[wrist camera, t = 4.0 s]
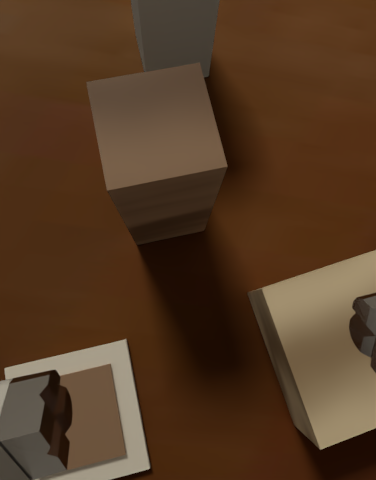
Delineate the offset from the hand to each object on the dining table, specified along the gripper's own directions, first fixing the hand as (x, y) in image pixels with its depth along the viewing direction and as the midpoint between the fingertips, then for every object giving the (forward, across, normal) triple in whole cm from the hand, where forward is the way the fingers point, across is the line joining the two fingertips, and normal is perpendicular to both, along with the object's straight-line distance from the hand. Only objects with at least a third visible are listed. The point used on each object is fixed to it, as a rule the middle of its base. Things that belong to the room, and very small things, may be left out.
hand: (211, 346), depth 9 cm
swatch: (+6, +7, +11) cm, 14 cm away
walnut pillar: (+14, 0, +3) cm, 14 cm away
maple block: (+7, -8, +10) cm, 15 cm away
